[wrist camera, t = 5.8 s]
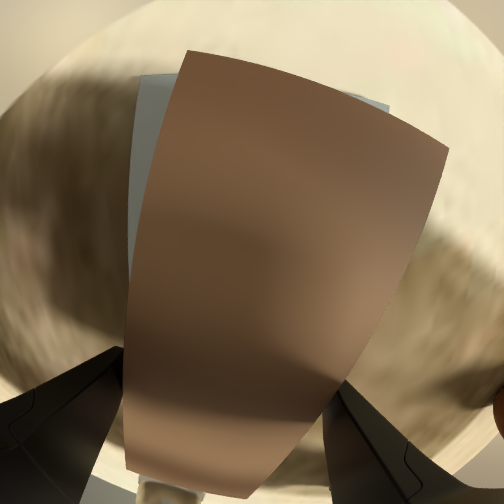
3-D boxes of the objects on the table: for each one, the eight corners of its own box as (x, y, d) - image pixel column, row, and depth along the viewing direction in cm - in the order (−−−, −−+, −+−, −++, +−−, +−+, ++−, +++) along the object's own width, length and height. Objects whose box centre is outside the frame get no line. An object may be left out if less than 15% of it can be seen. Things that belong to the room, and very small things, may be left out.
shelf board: (248, 455, 13) (246, 499, 10) (142, 426, 13) (126, 469, 10) (395, 147, 8) (449, 148, 5) (211, 83, 7) (187, 49, 5)
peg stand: (308, 407, 19) (315, 462, 14) (146, 386, 19) (125, 436, 14) (381, 108, 12) (432, 92, 8) (148, 79, 12) (100, 53, 7)
